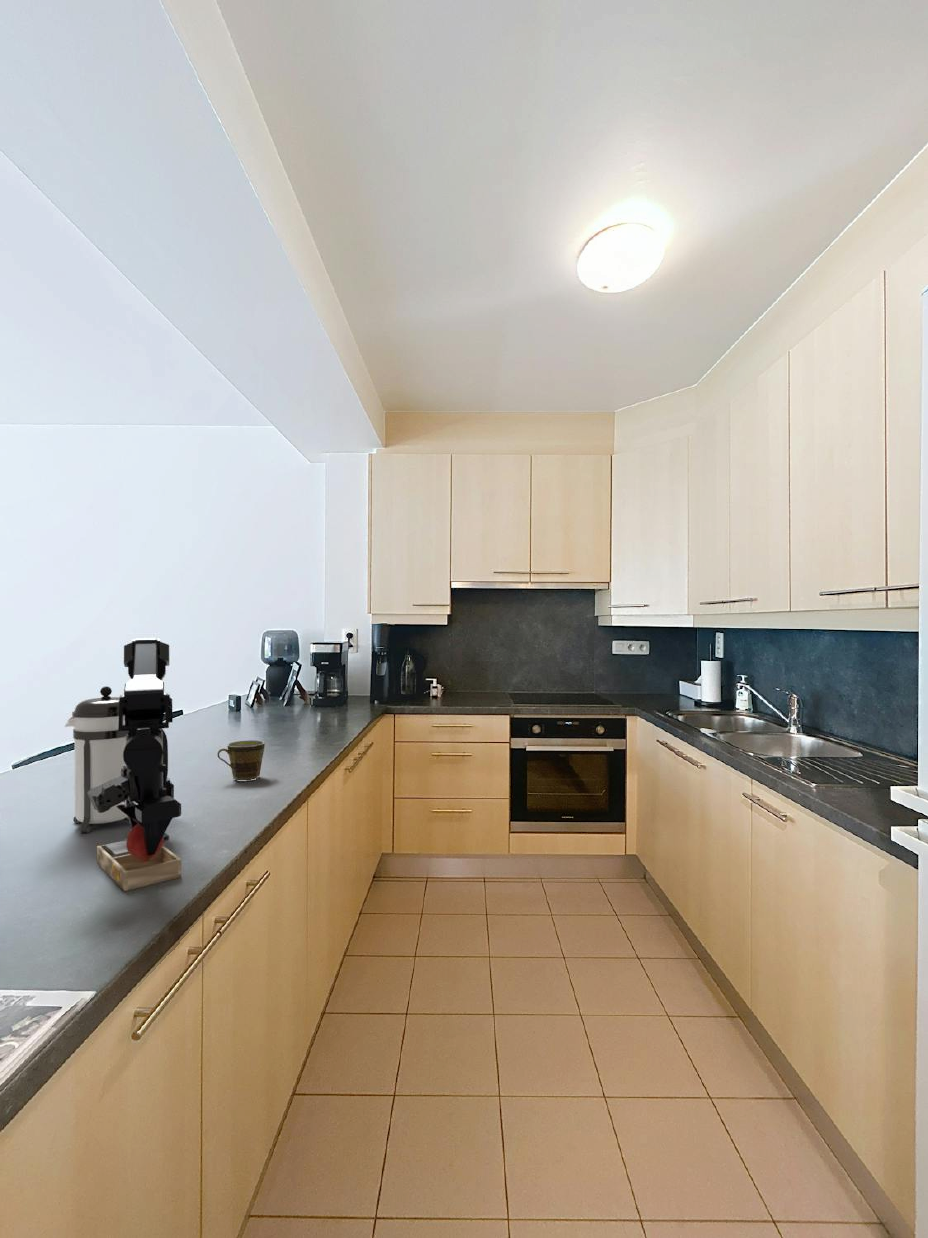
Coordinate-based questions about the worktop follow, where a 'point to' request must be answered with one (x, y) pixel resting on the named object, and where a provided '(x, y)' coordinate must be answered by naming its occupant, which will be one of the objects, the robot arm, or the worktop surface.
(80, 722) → the coffee press
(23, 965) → the worktop surface
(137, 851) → the red rounded piece
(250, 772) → the ceramic cup
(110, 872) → the wooden compartment tray
